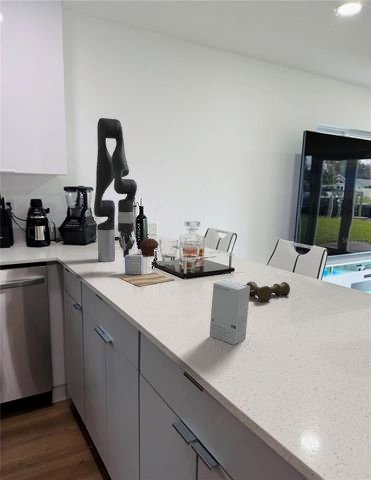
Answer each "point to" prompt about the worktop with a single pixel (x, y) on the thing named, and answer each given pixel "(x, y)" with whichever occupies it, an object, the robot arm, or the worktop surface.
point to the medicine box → (134, 264)
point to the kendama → (268, 290)
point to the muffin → (148, 247)
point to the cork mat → (147, 279)
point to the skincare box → (229, 311)
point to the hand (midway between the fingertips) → (126, 257)
